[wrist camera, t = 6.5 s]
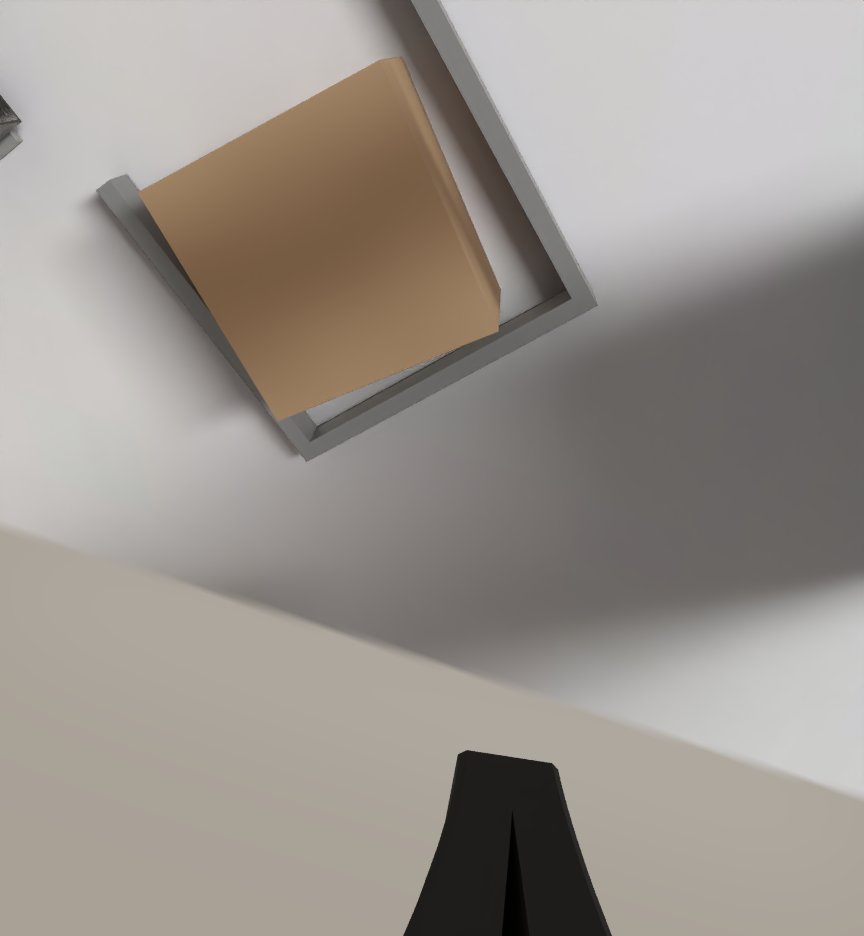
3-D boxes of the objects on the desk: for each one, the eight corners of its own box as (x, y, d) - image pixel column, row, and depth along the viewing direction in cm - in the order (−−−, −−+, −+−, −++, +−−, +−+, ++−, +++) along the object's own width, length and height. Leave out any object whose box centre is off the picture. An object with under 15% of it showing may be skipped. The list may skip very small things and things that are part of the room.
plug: (501, 286, 17) (498, 331, 14) (311, 367, 18) (277, 421, 16) (404, 56, 15) (379, 60, 12) (198, 168, 16) (137, 192, 13)
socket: (593, 294, 16) (597, 305, 16) (48, 590, 22) (33, 608, 22) (306, -255, 12) (294, -273, 12) (-268, 287, 18) (-298, 297, 18)
